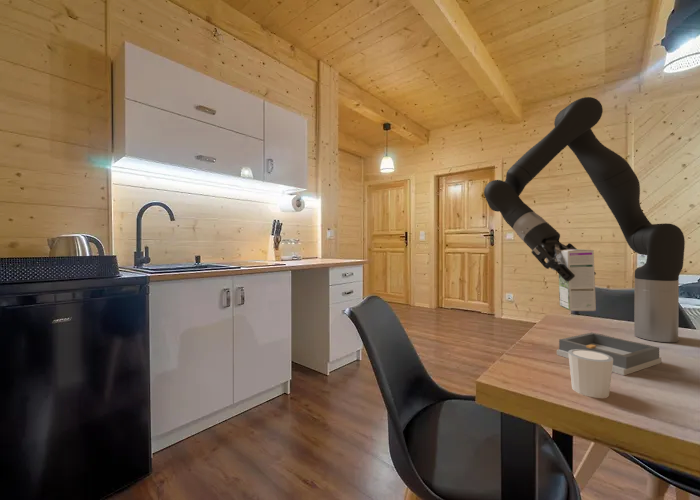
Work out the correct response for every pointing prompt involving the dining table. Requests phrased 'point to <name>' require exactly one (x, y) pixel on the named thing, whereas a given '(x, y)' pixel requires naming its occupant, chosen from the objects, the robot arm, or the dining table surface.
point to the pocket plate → (614, 351)
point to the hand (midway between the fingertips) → (582, 277)
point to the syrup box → (578, 280)
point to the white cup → (590, 372)
